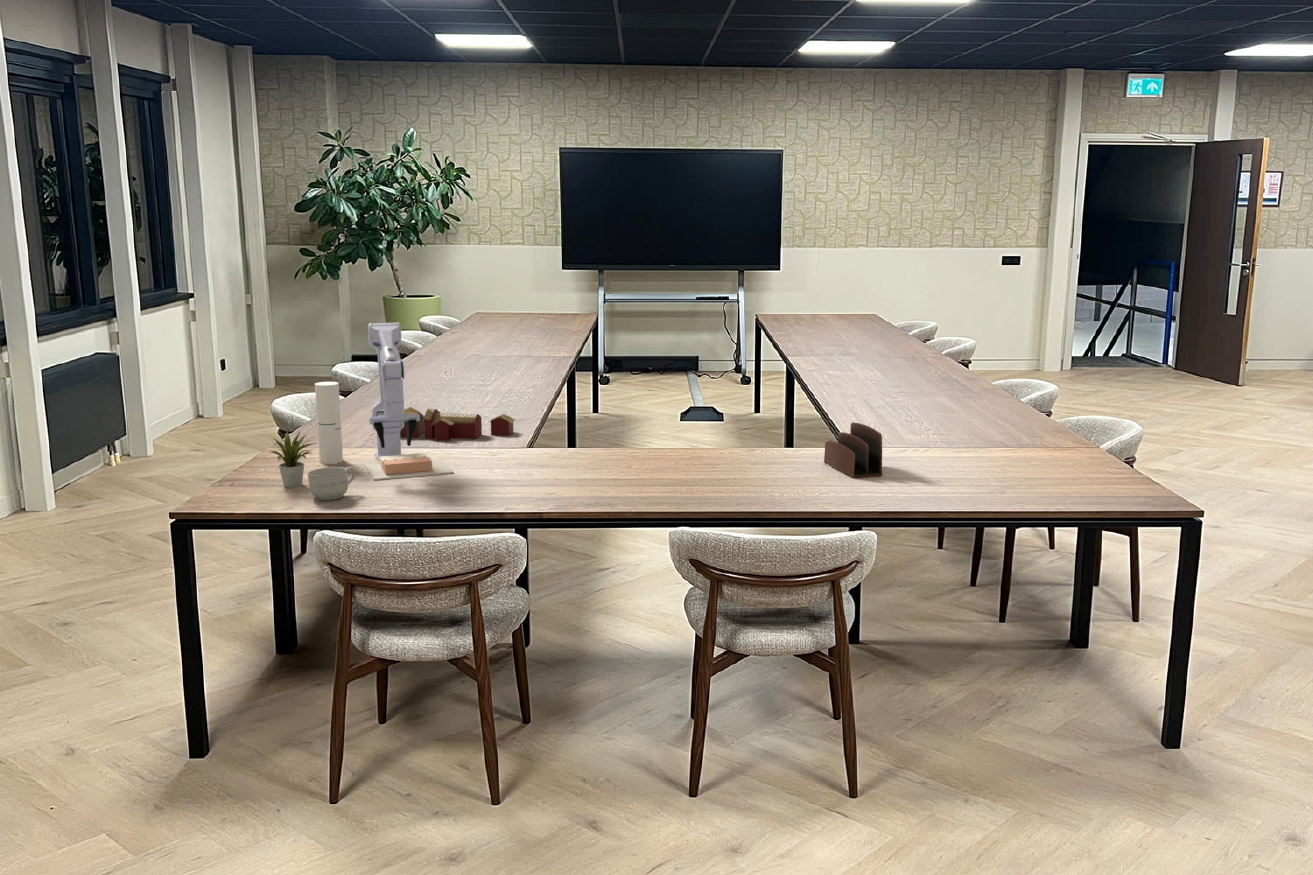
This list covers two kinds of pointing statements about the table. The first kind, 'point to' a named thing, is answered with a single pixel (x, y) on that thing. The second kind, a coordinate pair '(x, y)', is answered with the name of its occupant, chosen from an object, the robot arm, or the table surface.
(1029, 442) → the table surface
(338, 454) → the cylindrical container
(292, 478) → the house plant
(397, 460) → the stub
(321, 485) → the teacup
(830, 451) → the letter holder
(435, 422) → the toy houses
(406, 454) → the ticket book
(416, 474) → the mat
